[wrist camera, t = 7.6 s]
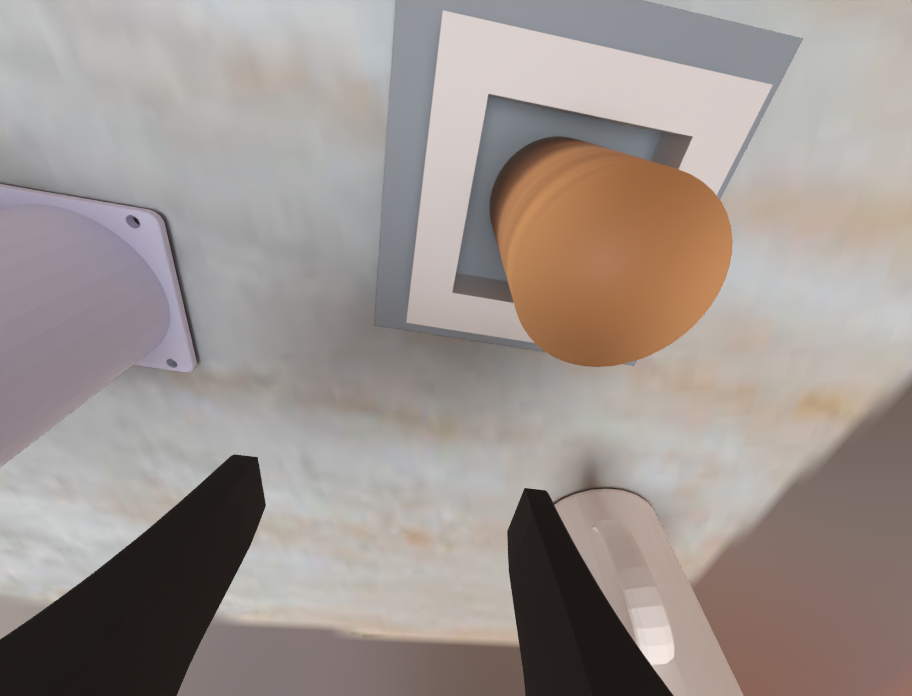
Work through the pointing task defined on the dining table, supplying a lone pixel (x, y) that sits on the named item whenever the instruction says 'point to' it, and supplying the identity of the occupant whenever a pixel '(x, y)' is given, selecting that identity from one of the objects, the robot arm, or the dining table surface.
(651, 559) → the mug
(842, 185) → the dining table surface
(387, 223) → the socket board
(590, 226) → the peg
